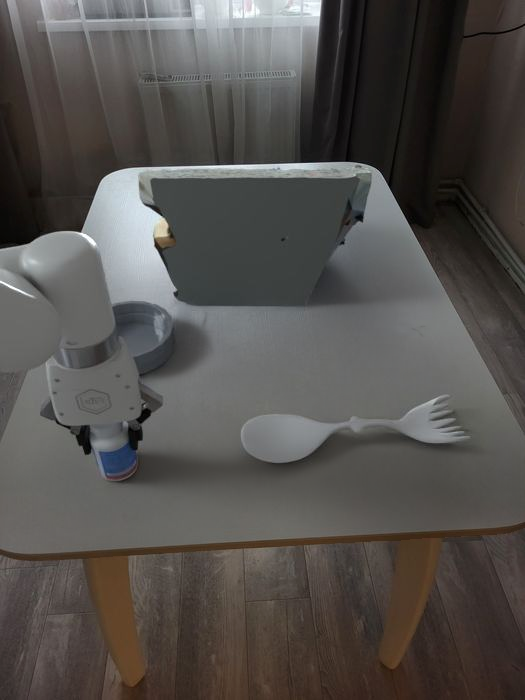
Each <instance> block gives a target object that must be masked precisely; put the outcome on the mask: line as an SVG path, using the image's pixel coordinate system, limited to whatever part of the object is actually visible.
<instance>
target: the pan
mask: <svg viewBox="0 0 525 700" xmlns="http://www.w3.org/2000/svg"><path fill="white" fill-rule="evenodd" d="M111 305H112V309H113V314H114V318H115V322H116V327H117V331H118V336H120V337H122V338H123V339H124V340H125V342H126V344H127V346H128V347H129V350H130V352H131V354H132V356H133V359H134V361H135V364H136V367H137V370H138V373H139V376H140V375H143V374H146V373H148V372H151V371H154V370H155V369H157V368H159V367H160V366H161V365H163V364H164V363H166V362H167V361H168V359H169V358H170V357H171V356H172V354H173V353H174V350H175V347H176V344H177V343H176V335H175V328H174V322H173V317H172V316H171V315H170V313H169V311H168V310H167V309H165V308H164V307H162V306H160V305H159V304H157V303H153V302H149V301H145V300H125V301H118V302H115V303H111Z"/></svg>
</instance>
